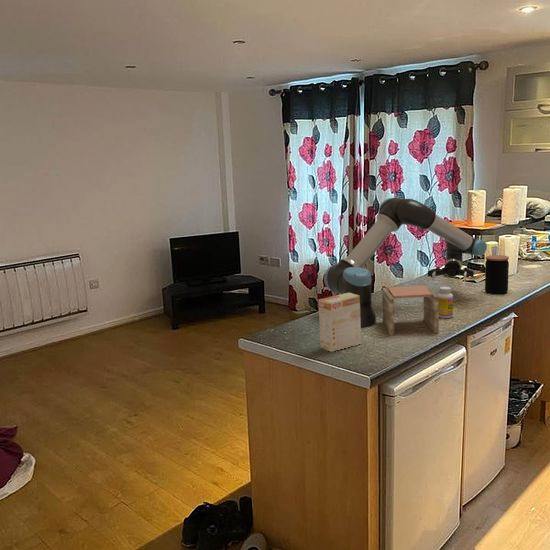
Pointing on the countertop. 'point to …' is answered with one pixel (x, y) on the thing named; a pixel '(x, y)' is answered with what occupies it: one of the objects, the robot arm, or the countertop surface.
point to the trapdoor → (409, 292)
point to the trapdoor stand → (429, 311)
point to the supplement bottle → (445, 302)
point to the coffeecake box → (340, 321)
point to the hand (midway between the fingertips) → (448, 277)
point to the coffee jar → (496, 274)
